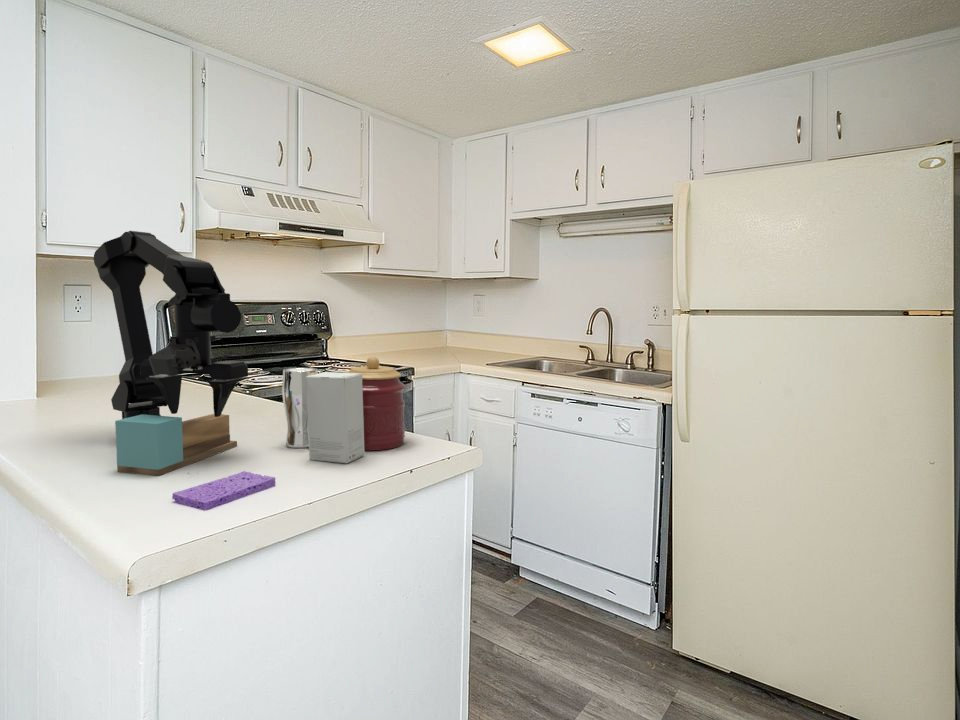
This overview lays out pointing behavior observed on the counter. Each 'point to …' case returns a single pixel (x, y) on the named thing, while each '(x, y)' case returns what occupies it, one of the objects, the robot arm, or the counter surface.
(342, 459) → the skincare box
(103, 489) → the counter surface
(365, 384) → the canister
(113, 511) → the counter surface
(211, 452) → the board
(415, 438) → the counter surface
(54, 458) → the counter surface
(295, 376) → the silver tall cylinder
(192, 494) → the sponges
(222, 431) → the wooden block
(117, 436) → the end cap
